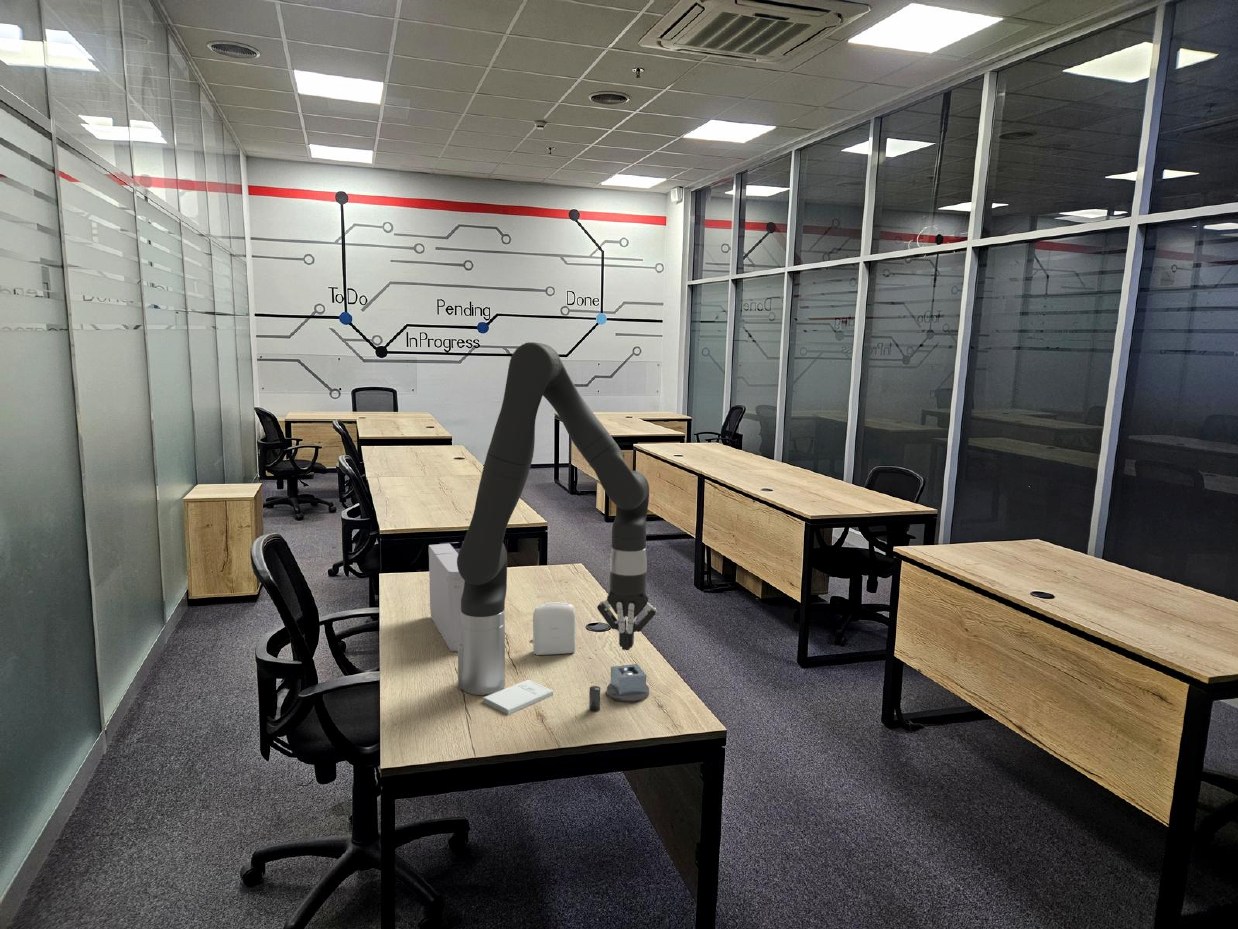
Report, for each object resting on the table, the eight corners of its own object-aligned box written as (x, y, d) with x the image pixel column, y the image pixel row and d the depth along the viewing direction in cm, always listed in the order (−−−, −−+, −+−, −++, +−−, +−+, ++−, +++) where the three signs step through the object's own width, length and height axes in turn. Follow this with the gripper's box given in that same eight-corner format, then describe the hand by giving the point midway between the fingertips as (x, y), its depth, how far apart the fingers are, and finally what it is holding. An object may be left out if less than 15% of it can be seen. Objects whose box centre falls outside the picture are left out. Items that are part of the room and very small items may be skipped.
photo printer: (533, 656, 182) (533, 607, 180) (532, 649, 186) (532, 601, 184) (576, 654, 183) (576, 605, 181) (574, 647, 187) (574, 599, 186)
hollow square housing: (618, 696, 159) (619, 678, 159) (610, 684, 165) (610, 666, 164) (645, 693, 161) (646, 675, 161) (636, 681, 167) (637, 663, 166)
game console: (450, 653, 183) (448, 572, 180) (429, 616, 208) (427, 545, 205) (473, 649, 185) (473, 570, 182) (450, 613, 210) (449, 543, 207)
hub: (602, 699, 160) (602, 679, 159) (612, 681, 169) (612, 662, 168) (644, 705, 158) (644, 684, 157) (652, 686, 167) (652, 667, 166)
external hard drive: (482, 704, 158) (527, 685, 167) (508, 717, 153) (553, 697, 162) (482, 696, 158) (527, 678, 167) (508, 709, 152) (553, 689, 162)
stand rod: (588, 710, 155) (588, 690, 154) (590, 706, 157) (591, 685, 156) (598, 712, 154) (598, 691, 154) (601, 707, 157) (601, 686, 156)
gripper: (592, 571, 155) (591, 652, 157) (656, 576, 152) (654, 659, 154) (601, 561, 162) (600, 639, 164) (662, 566, 159) (660, 645, 161)
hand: (626, 648), depth 159 cm, fingers closed
